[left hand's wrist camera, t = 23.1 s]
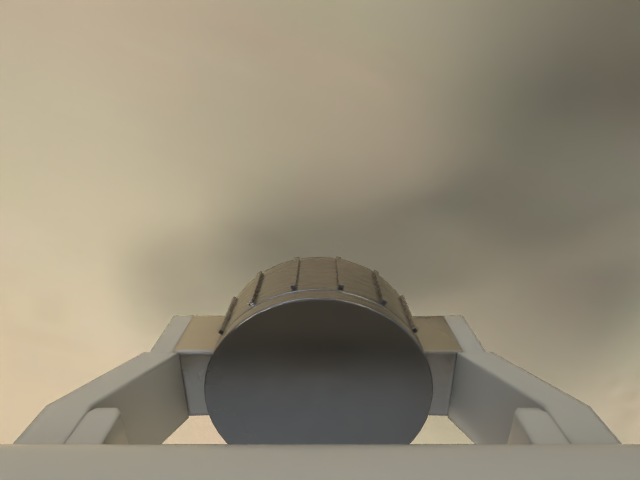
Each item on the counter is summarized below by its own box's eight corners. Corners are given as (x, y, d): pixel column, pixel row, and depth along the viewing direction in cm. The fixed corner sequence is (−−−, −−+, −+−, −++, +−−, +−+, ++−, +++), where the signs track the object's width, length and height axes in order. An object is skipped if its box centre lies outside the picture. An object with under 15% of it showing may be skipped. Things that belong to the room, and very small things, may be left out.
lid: (407, 414, 11) (425, 481, 9) (233, 415, 11) (214, 482, 9) (421, 253, 9) (447, 295, 7) (213, 255, 9) (186, 297, 7)
